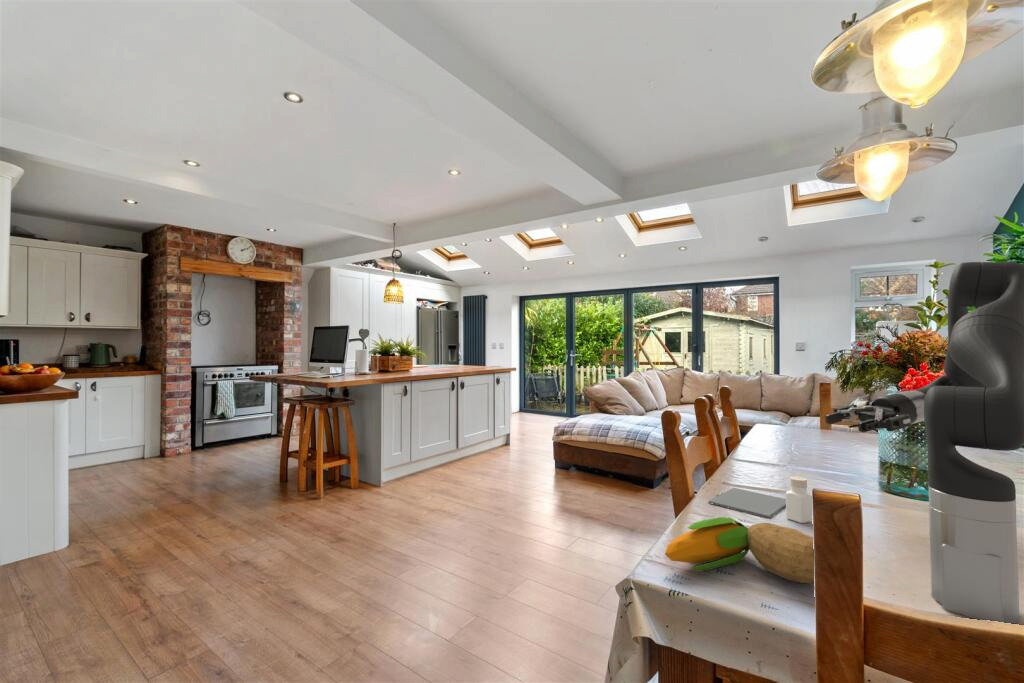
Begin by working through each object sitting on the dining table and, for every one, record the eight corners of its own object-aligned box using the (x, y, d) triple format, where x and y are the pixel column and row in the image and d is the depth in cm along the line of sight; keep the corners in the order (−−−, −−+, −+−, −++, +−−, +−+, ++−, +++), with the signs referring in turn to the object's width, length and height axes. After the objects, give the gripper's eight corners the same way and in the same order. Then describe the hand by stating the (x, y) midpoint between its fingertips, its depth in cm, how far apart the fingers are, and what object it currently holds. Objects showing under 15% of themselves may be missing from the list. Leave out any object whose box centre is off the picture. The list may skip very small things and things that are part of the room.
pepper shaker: (813, 522, 100) (813, 479, 100) (801, 524, 98) (801, 481, 98) (796, 515, 103) (796, 475, 104) (784, 518, 102) (784, 477, 102)
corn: (762, 518, 82) (682, 537, 73) (766, 560, 81) (685, 585, 73) (728, 508, 88) (651, 525, 80) (731, 547, 88) (654, 568, 79)
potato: (769, 553, 84) (768, 511, 84) (848, 590, 71) (847, 540, 71) (731, 563, 81) (730, 519, 81) (808, 603, 67) (807, 551, 68)
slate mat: (769, 518, 102) (769, 515, 102) (708, 503, 112) (708, 500, 112) (790, 502, 112) (790, 499, 113) (733, 489, 123) (733, 487, 123)
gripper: (870, 389, 111) (814, 402, 108) (932, 398, 96) (869, 413, 94) (874, 418, 111) (819, 432, 109) (937, 431, 97) (874, 447, 95)
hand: (842, 423), depth 101 cm, fingers open, 8 cm apart
